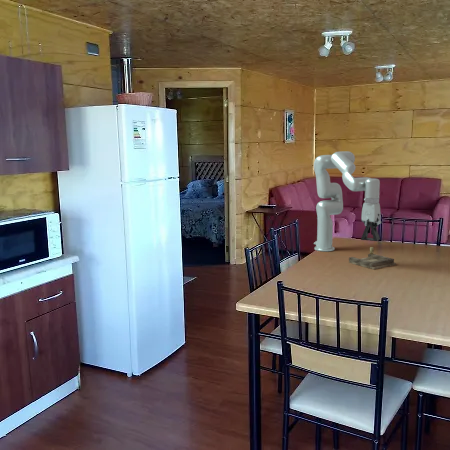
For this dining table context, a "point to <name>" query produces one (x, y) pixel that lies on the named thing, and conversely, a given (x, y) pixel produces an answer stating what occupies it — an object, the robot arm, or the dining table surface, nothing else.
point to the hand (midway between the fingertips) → (370, 233)
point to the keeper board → (373, 261)
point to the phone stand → (375, 233)
